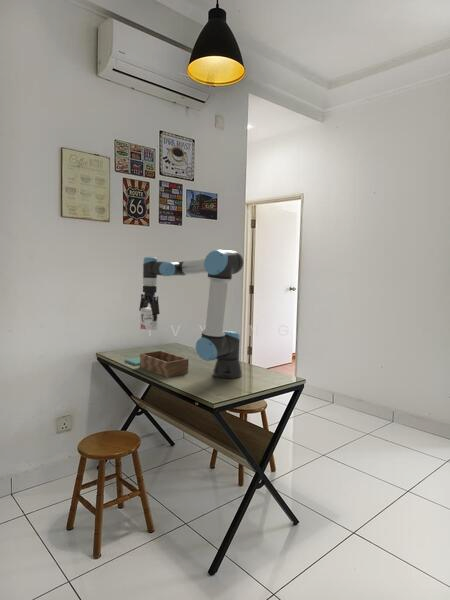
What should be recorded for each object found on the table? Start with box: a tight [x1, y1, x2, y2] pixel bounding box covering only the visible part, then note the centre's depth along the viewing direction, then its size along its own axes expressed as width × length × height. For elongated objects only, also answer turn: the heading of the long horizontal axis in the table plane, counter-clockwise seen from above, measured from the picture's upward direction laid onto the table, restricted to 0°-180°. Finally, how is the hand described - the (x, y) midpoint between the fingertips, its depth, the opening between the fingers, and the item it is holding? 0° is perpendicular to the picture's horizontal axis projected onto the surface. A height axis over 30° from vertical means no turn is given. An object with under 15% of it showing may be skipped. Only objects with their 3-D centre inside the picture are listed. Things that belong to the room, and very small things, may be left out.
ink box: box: [140, 306, 159, 331], centre depth 232 cm, size 9×5×12 cm, turn 63°
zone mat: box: [124, 356, 140, 366], centre depth 241 cm, size 12×12×1 cm
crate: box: [139, 350, 189, 378], centre depth 225 cm, size 26×14×8 cm, turn 43°
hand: (148, 325), depth 233 cm, fingers closed on ink box, 9 cm apart
